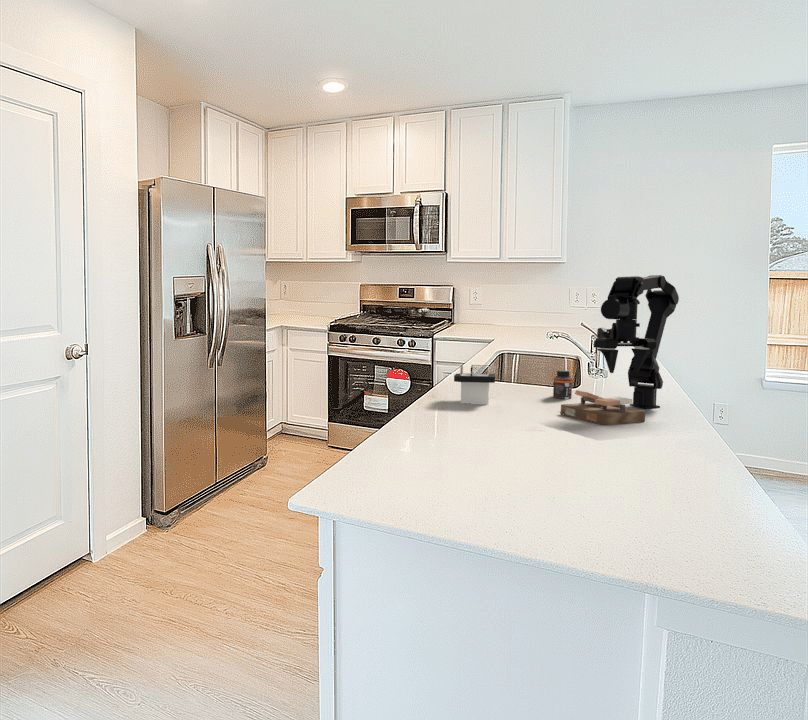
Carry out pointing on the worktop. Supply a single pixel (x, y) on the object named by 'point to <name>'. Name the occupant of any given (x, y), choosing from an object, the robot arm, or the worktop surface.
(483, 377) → the white and black block
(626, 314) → the robot arm
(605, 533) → the worktop surface
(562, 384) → the supplement bottle
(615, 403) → the block
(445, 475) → the worktop surface
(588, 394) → the rocker
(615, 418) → the switch unit
